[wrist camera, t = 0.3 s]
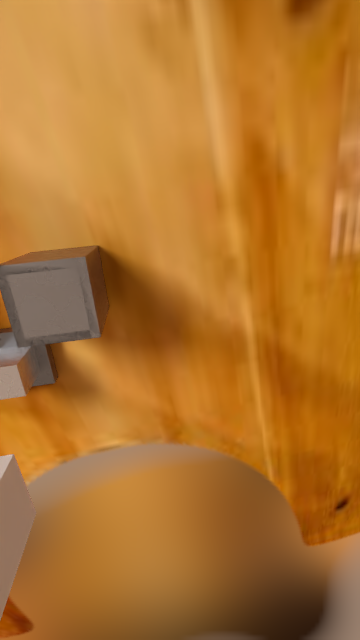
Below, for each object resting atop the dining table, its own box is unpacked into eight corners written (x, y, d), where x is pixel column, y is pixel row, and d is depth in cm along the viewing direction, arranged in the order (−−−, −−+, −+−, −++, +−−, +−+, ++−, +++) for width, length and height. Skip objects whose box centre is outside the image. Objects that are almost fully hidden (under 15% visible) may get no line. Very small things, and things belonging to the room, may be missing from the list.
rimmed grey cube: (30, 252, 33) (-7, 266, 24) (98, 245, 33) (85, 256, 25) (46, 315, 35) (17, 348, 27) (109, 307, 36) (100, 337, 27)
